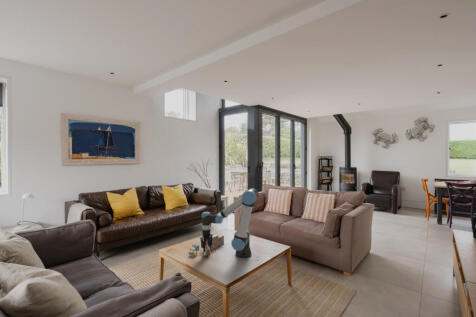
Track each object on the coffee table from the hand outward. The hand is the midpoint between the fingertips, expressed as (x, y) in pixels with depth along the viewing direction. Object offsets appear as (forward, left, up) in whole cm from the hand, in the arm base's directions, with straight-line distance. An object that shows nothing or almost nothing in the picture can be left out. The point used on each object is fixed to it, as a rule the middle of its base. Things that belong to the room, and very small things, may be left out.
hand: (207, 254), depth 215 cm
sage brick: (+17, +4, -2) cm, 17 cm away
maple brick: (+10, +8, -2) cm, 13 cm away
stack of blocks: (+12, -19, -2) cm, 23 cm away
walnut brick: (0, 0, -1) cm, 1 cm away
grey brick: (+21, -2, -2) cm, 21 cm away
